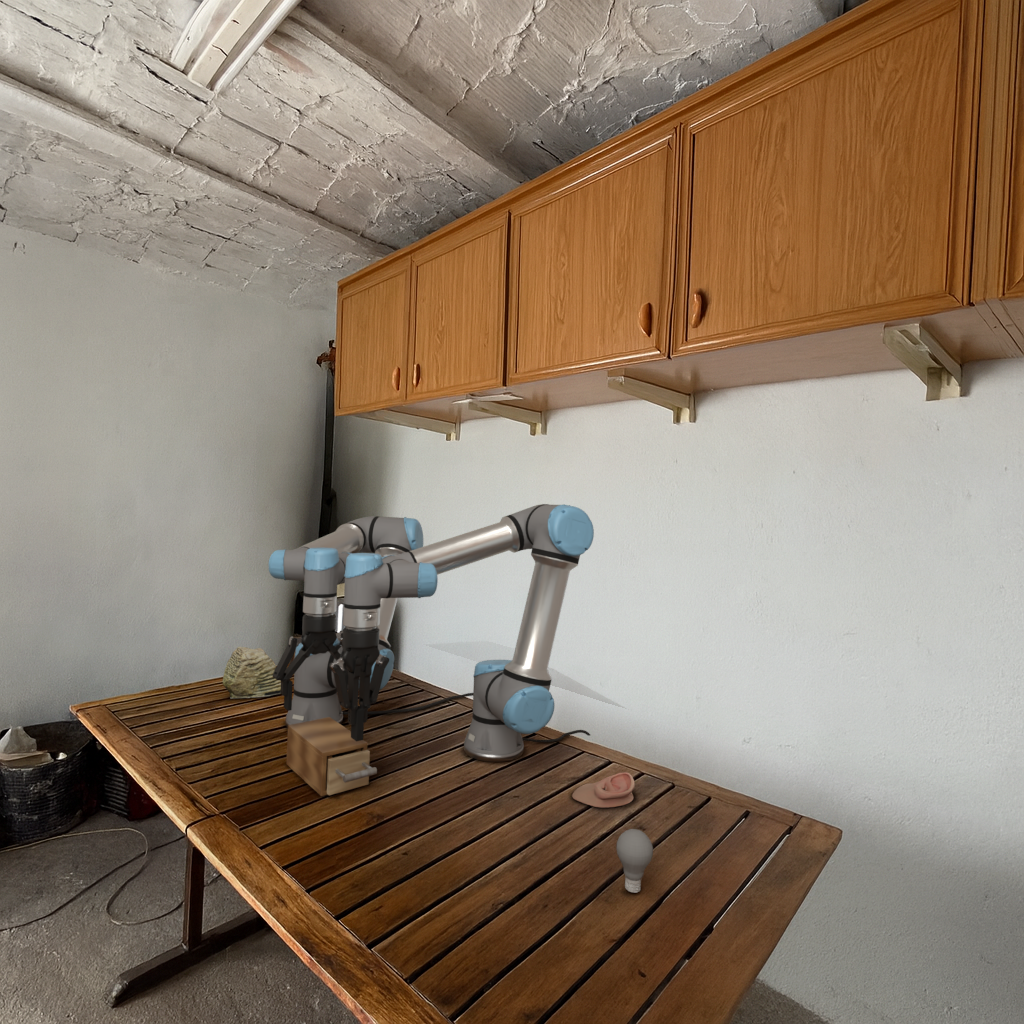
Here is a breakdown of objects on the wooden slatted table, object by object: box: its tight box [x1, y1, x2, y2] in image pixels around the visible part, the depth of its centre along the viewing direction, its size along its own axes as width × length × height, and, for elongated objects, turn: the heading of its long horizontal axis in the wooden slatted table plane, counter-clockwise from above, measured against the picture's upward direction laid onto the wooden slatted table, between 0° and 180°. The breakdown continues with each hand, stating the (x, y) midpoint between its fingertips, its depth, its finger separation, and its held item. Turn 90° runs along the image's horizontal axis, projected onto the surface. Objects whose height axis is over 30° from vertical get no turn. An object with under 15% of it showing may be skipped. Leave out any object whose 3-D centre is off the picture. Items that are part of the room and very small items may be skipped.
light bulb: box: [615, 828, 654, 894], centre depth 106 cm, size 6×6×10 cm
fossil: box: [222, 646, 281, 699], centre depth 198 cm, size 9×18×15 cm, turn 132°
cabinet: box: [286, 717, 368, 797], centre depth 145 cm, size 20×10×9 cm, turn 40°
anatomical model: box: [571, 771, 636, 809], centre depth 139 cm, size 13×4×12 cm
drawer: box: [326, 749, 378, 796], centre depth 140 cm, size 24×9×7 cm, turn 40°
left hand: (316, 703), depth 149 cm, fingers open, 13 cm apart
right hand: (356, 738), depth 133 cm, fingers closed
